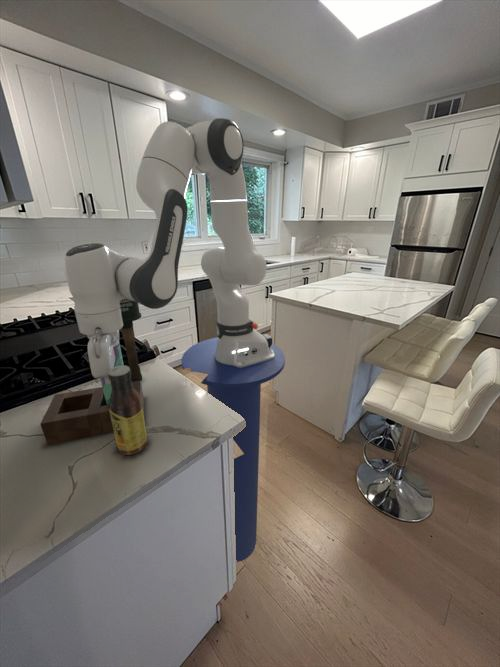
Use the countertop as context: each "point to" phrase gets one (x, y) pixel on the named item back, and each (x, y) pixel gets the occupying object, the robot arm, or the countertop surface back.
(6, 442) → the countertop surface
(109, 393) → the spray can
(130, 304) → the potato masher grenade
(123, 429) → the sauce bottle
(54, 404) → the holder
